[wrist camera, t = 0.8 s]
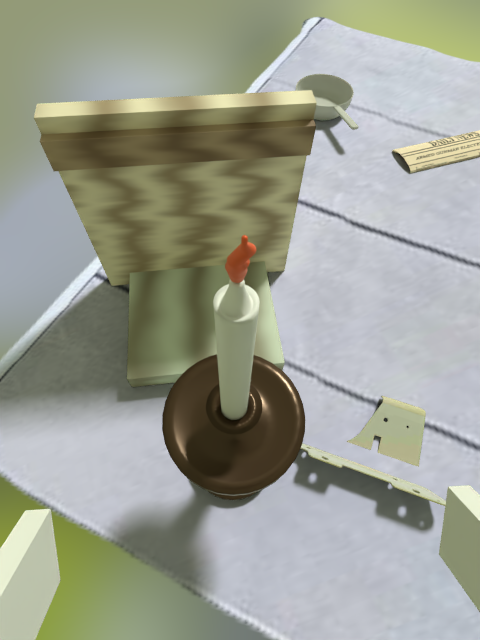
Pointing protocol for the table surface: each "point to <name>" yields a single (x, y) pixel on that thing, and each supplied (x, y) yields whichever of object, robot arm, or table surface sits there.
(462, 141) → the newspaper
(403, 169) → the table surface
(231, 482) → the candlestick
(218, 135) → the pale wooden blocky structure
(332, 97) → the small pan
